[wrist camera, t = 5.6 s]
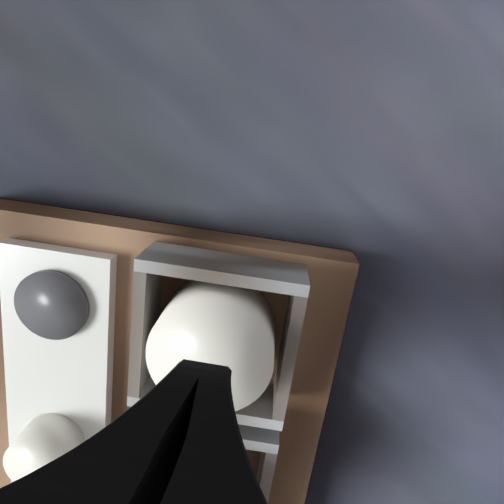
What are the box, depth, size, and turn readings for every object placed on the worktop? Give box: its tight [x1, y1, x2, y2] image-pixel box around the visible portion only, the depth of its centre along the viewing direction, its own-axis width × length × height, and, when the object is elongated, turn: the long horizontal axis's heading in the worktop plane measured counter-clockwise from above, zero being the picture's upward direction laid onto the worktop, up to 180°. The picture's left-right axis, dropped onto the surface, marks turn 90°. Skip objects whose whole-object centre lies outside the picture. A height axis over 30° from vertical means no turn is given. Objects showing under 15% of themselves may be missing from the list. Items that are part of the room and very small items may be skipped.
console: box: [0, 198, 360, 504], centre depth 16 cm, size 14×18×4 cm
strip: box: [0, 238, 117, 483], centre depth 16 cm, size 4×16×2 cm, turn 172°
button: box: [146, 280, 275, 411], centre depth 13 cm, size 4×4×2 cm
